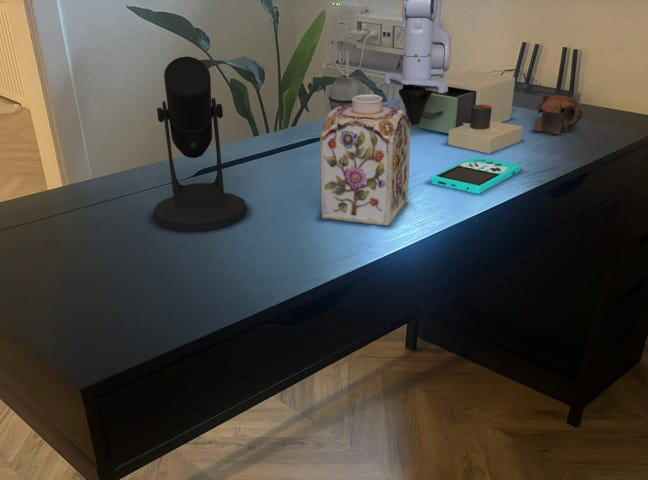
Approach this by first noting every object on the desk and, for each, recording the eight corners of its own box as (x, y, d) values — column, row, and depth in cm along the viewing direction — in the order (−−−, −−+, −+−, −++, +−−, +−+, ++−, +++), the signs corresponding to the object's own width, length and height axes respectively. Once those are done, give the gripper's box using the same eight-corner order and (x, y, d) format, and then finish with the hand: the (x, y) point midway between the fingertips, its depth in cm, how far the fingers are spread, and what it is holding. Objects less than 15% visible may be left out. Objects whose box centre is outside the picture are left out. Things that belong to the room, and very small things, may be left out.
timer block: (445, 144, 153) (446, 128, 152) (478, 132, 161) (479, 117, 159) (489, 153, 147) (490, 137, 145) (520, 141, 154) (522, 125, 153)
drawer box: (475, 131, 161) (479, 87, 157) (431, 122, 169) (433, 80, 164) (510, 118, 170) (515, 77, 165) (466, 110, 177) (470, 70, 172)
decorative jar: (408, 202, 124) (414, 91, 114) (390, 227, 115) (394, 108, 105) (341, 195, 127) (341, 87, 118) (318, 219, 118) (316, 103, 109)
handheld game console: (521, 171, 137) (522, 164, 136) (479, 194, 127) (480, 187, 126) (474, 161, 143) (474, 154, 142) (429, 183, 132) (430, 175, 132)
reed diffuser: (366, 152, 149) (368, 46, 138) (364, 163, 143) (366, 53, 132) (330, 152, 150) (329, 46, 139) (327, 163, 144) (326, 53, 133)
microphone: (155, 238, 113) (130, 64, 99) (154, 200, 127) (132, 44, 114) (252, 229, 115) (240, 58, 102) (240, 193, 129) (228, 40, 116)
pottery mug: (520, 131, 162) (531, 94, 162) (548, 145, 168) (558, 109, 167) (564, 128, 152) (575, 88, 152) (592, 143, 157) (603, 104, 157)
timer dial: (466, 127, 153) (468, 105, 151) (477, 123, 155) (479, 102, 153) (482, 130, 150) (484, 108, 148) (493, 126, 153) (495, 105, 151)
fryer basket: (438, 139, 153) (441, 102, 150) (397, 130, 160) (399, 95, 156) (486, 122, 164) (489, 88, 160) (446, 114, 171) (448, 81, 167)
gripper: (376, 53, 149) (375, 121, 156) (434, 61, 141) (430, 133, 148) (398, 48, 153) (396, 115, 161) (456, 56, 145) (451, 126, 152)
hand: (413, 123), depth 154 cm, fingers closed
